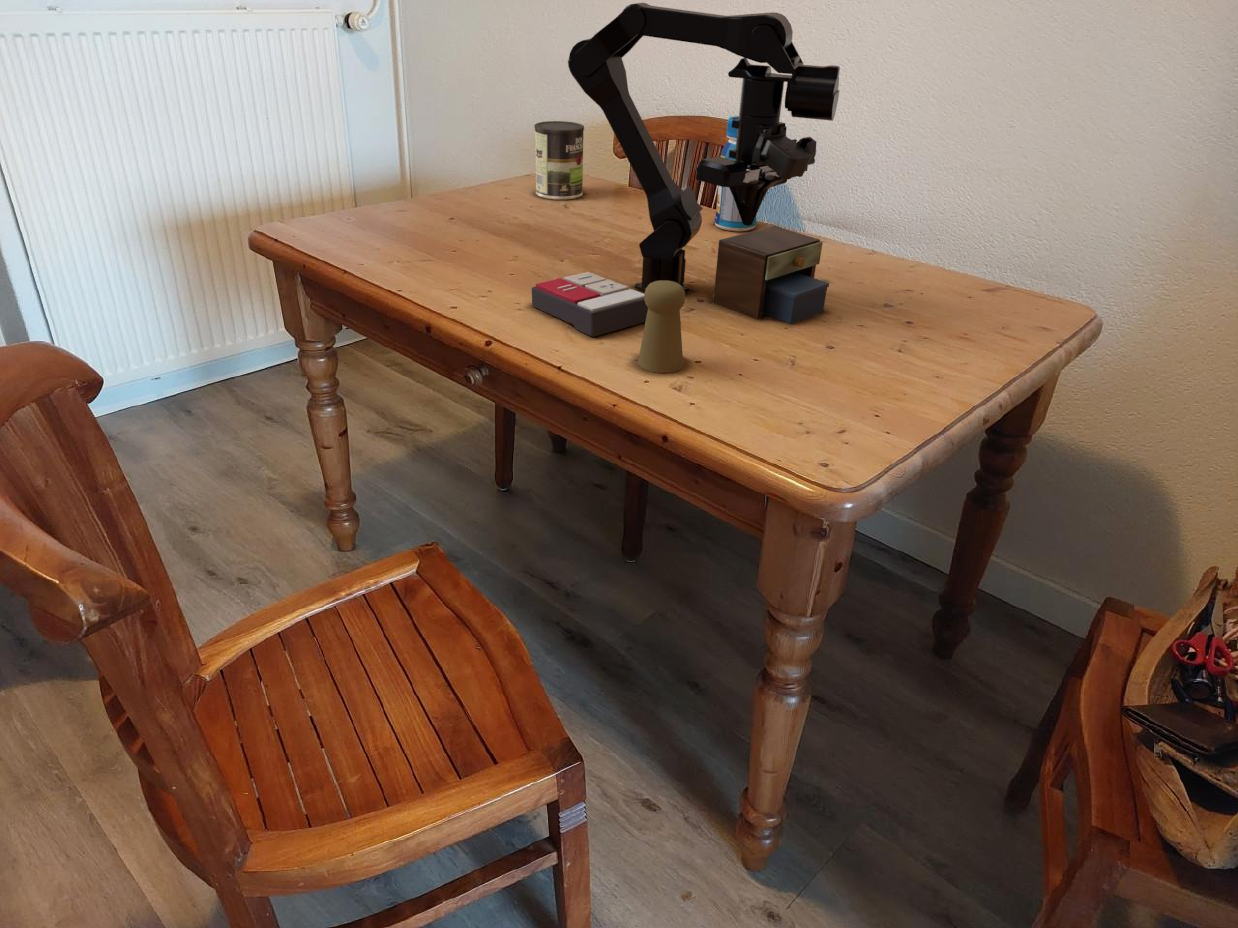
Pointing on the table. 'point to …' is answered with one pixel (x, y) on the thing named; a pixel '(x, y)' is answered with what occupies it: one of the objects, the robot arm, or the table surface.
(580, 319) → the calculator
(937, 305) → the table surface
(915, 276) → the table surface
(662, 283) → the olive pawn
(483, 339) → the table surface
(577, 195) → the coffee can
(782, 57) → the robot arm
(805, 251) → the drawer
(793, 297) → the storage box
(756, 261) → the drawer unit
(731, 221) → the beverage bottle
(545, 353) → the table surface
